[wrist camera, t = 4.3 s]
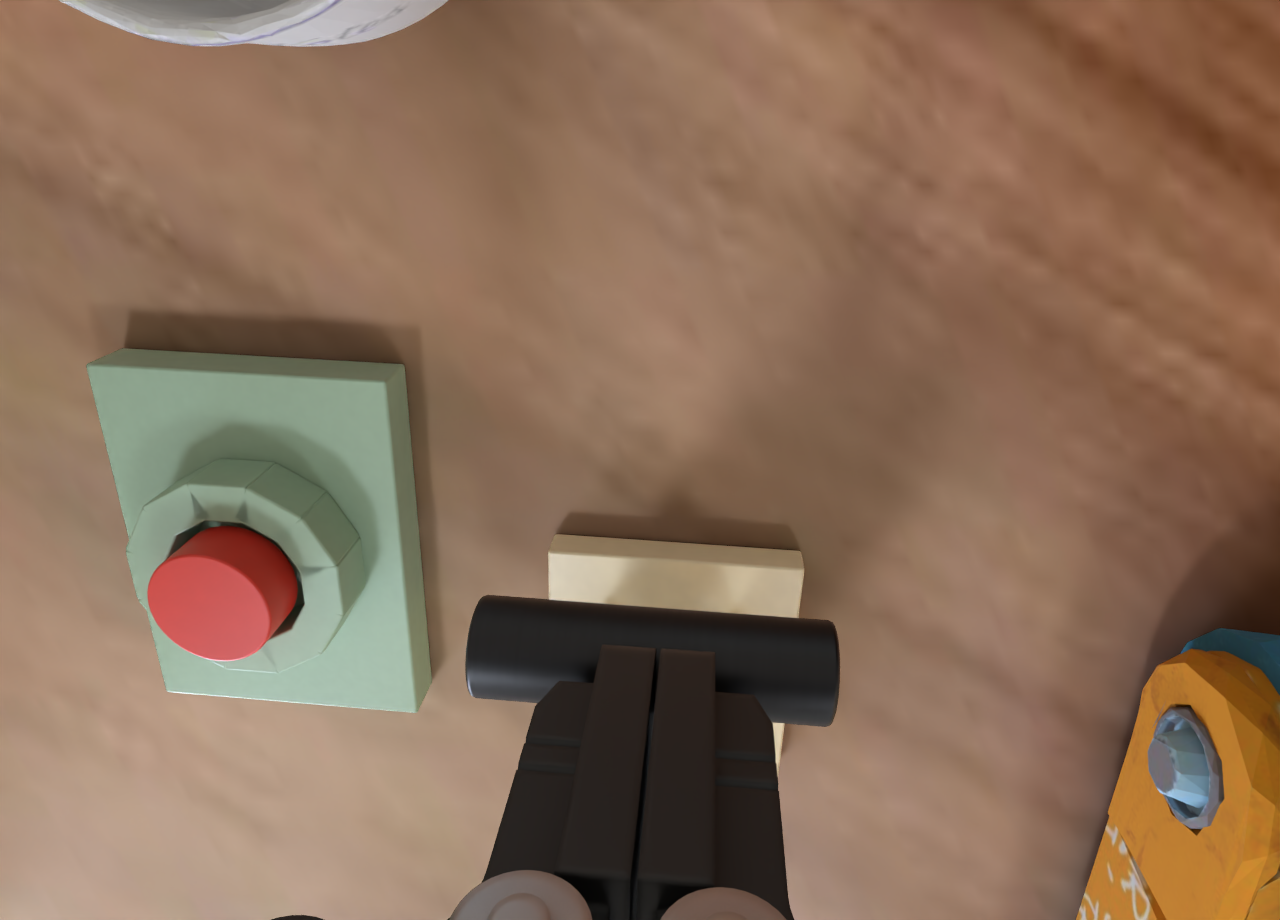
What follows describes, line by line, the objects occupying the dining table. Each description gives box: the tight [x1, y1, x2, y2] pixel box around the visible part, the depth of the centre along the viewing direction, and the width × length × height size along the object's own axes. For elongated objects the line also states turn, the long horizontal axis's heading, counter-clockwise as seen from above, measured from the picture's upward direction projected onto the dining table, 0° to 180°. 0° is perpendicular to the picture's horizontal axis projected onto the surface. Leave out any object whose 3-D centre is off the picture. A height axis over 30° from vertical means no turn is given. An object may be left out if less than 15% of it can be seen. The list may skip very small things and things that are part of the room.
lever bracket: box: [548, 534, 805, 776], centre depth 23 cm, size 9×8×13 cm
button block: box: [86, 348, 432, 713], centre depth 27 cm, size 12×9×4 cm
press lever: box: [465, 595, 840, 727], centre depth 16 cm, size 13×5×2 cm, turn 178°
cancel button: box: [147, 526, 298, 661], centre depth 25 cm, size 4×4×2 cm
